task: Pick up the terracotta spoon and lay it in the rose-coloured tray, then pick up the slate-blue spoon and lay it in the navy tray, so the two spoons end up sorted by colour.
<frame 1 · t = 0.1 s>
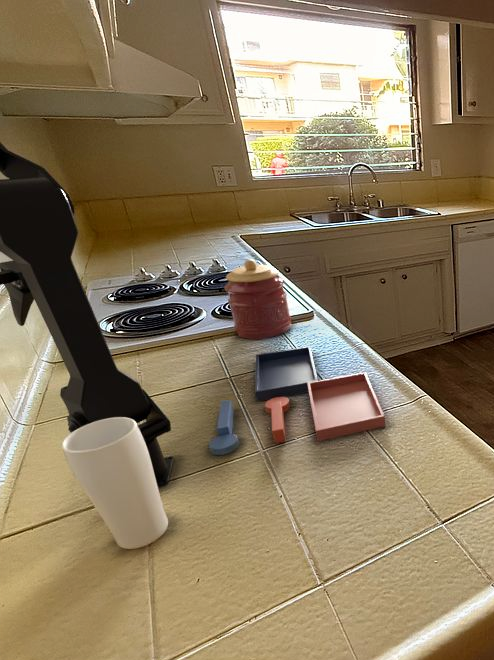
navy tray: (287, 375, 94), on the worktop
rose tray: (344, 407, 83), on the worktop
terracotta spoon: (279, 421, 79), on the worktop
blue spoon: (226, 431, 76), on the worktop
drinking glass: (144, 535, 57), on the worktop
kitchen canister: (265, 330, 115), on the worktop
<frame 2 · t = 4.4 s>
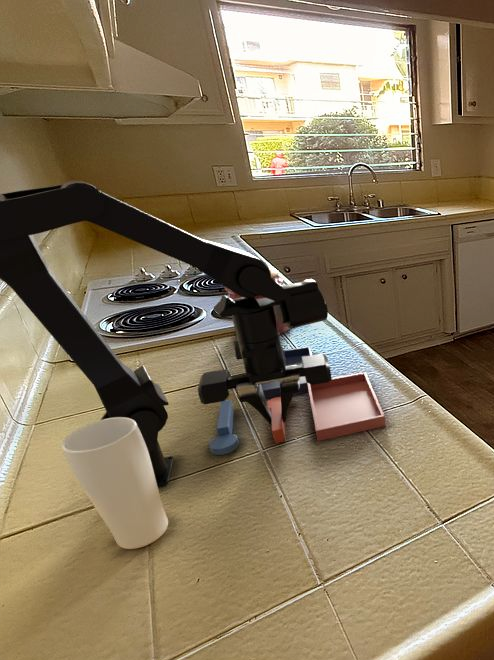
hand: (278, 422, 77), 1 cm above the worktop, tool pointing down, fingers closed on terracotta spoon, 2 cm apart
terracotta spoon: (279, 421, 79), on the worktop, touching gripper
everything else where it was.
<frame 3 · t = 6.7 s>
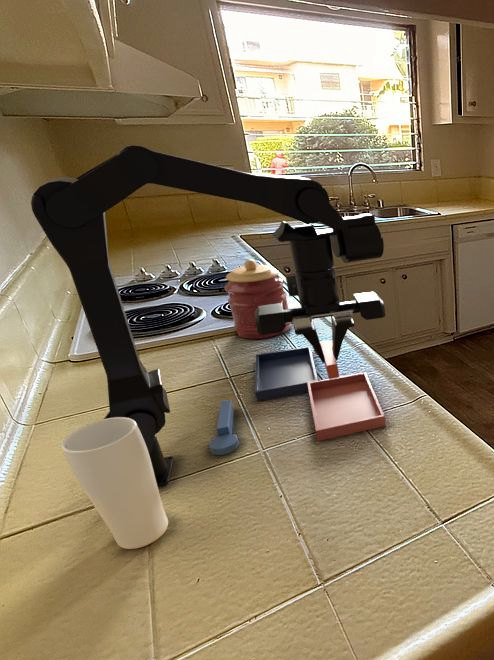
hand: (329, 360, 76), 11 cm above the worktop, tool pointing down, fingers closed on terracotta spoon
terracotta spoon: (329, 361, 78), point 10 cm above the worktop, touching gripper
everything else where it was.
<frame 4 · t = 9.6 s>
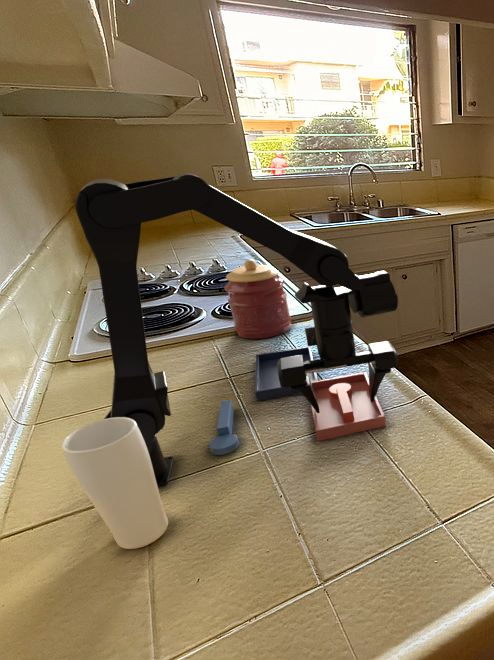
hand: (345, 406, 80), 1 cm above the worktop, tool pointing down, fingers open, 9 cm apart
terracotta spoon: (344, 405, 82), resting on rose tray
everything else where it was.
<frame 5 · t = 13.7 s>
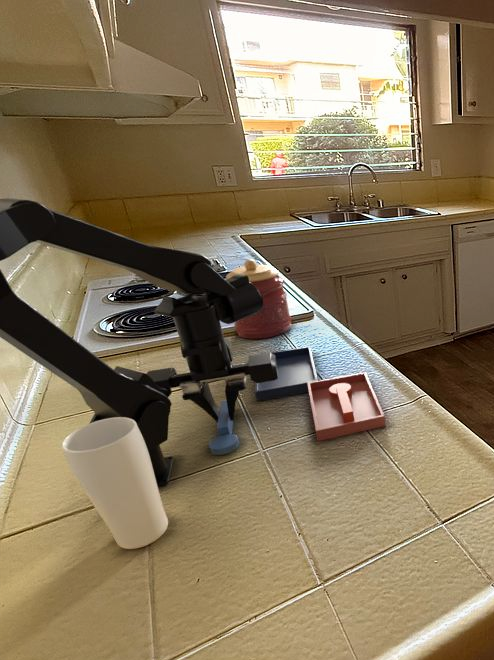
hand: (226, 420, 77), 1 cm above the worktop, tool pointing down, fingers closed on blue spoon, 2 cm apart
blue spoon: (226, 431, 76), on the worktop, touching gripper
everything else where it was.
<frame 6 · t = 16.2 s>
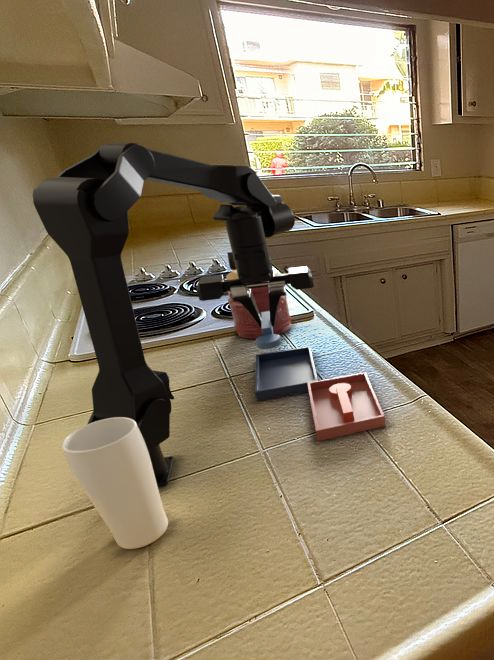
hand: (267, 326, 87), 11 cm above the worktop, tool pointing down, fingers closed on blue spoon
blue spoon: (268, 335, 86), point 10 cm above the worktop, touching gripper
everything else where it was.
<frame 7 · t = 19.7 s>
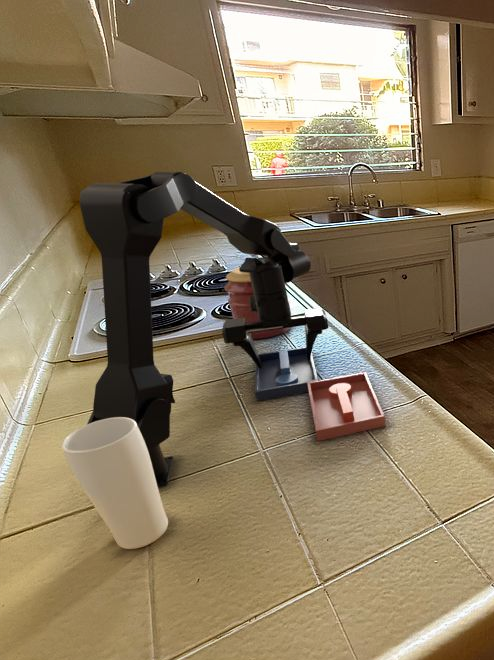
hand: (285, 363, 94), 2 cm above the worktop, tool pointing down, fingers open, 9 cm apart
blue spoon: (286, 373, 93), resting on navy tray
everything else where it was.
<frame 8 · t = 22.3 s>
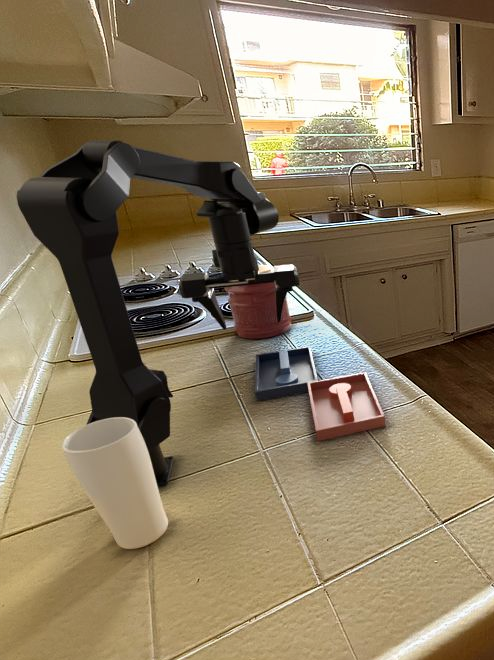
hand: (252, 325, 86), 12 cm above the worktop, tool pointing down, fingers open, 9 cm apart
nothing on the worktop moved.
at the end: terracotta spoon inside the target area in the rose tray (0.0 cm from its centre), point 0.5 cm above the rose tray's base; blue spoon inside the target area in the navy tray (0.0 cm from its centre), point 0.5 cm above the navy tray's base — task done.
